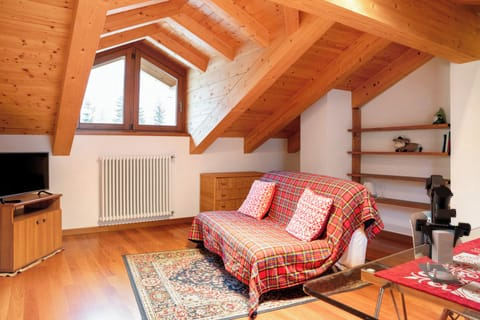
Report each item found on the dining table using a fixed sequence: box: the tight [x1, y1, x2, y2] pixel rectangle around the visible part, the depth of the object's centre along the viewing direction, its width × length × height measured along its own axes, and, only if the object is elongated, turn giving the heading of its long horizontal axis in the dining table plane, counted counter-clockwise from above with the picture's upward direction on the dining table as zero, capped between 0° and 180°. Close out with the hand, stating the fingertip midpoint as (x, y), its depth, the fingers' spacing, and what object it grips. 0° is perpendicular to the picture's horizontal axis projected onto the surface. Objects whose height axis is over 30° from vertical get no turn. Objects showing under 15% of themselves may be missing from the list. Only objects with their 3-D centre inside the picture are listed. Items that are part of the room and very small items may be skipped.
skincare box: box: [431, 230, 455, 265], centre depth 131 cm, size 6×4×12 cm
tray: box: [417, 261, 460, 285], centre depth 136 cm, size 18×9×5 cm, turn 168°
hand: (443, 246), depth 130 cm, fingers closed on skincare box, 7 cm apart
